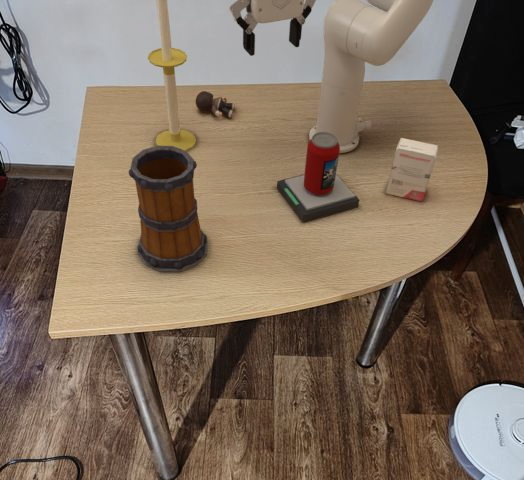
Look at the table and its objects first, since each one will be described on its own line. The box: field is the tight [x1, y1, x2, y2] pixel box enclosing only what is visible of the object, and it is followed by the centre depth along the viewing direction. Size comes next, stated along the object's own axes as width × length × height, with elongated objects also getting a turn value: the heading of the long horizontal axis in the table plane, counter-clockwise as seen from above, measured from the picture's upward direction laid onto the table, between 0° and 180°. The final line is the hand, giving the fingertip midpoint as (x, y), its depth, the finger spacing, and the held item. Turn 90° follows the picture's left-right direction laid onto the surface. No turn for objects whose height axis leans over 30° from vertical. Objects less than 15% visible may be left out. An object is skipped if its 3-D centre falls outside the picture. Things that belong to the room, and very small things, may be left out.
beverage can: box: [304, 132, 340, 195], centre depth 118 cm, size 7×7×12 cm
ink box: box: [385, 137, 439, 202], centre depth 123 cm, size 9×5×12 cm, turn 71°
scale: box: [276, 173, 360, 223], centre depth 124 cm, size 14×13×3 cm
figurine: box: [195, 90, 236, 119], centre depth 144 cm, size 8×5×10 cm
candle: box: [147, 0, 197, 152], centre depth 122 cm, size 10×10×38 cm
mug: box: [128, 145, 209, 273], centre depth 107 cm, size 19×14×20 cm
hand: (271, 48), depth 107 cm, fingers open, 9 cm apart
